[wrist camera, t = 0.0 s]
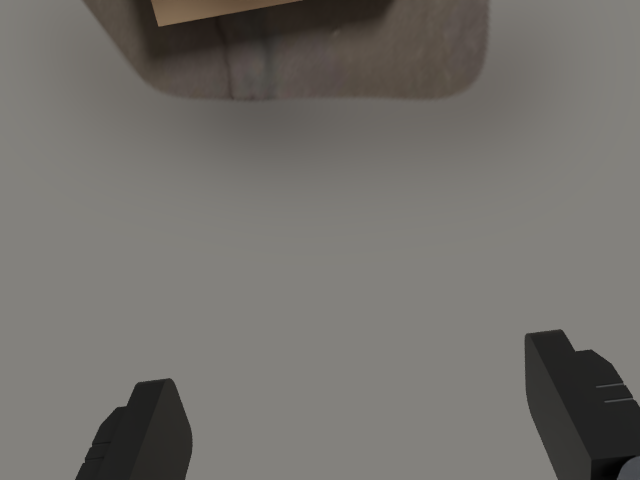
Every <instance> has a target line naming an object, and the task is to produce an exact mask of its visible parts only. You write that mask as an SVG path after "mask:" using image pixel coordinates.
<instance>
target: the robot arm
mask: <svg viewBox="0 0 640 480" xmlns="http://www.w3.org/2000/svg"><path fill="white" fill-rule="evenodd" d="M525 379H526V395H527V401H528V405H529V409H530V413H531V416H532V418H533V421H534V423H535V425H536V428H537V430H538V433H539V435H540V437H541V440H542V442H543V445H544V447H545V449H546V451H547V454H548V456H549V459H550V461H551V464H552V466H553V469H554V471H555V473H556V476H557V478H558V480H640V407H639V405H638V404H637V402H636V401H635V400H633V396H632V394H631V393H630V391H629V390H628V388H627V387H626V385H624V384H623V381H622V379H621V378H620V376H619V375H618V373H617V371H616V370H615V369H614V367H613V365H612V364H611V363H610V362H608V361H607V360H605V359H604V358H603V357H601V356H600V355H598V354H597V353H595V352H594V351H593V350H584V351H576V352H575V350H574V349H573V347H572V345H571V343H570V342H569V340H568V338H567V337H566V335H565V333H564V332H563V331H562V330H561V329H559V330H551V331H544V332H536V333H528V334H526V335H525ZM191 454H192V432H191V428H190V424H189V422H188V419H187V416H186V413H185V411H184V408H183V405H182V402H181V400H180V397H179V394H178V391H177V388H176V386H175V383H174V382H173V380H172V379H170V378H168V379H160V380H153V381H145V382H138V383H137V384H136V385H135V387H134V390H133V392H132V394H131V397H130V399H129V401H128V404H127V406H125V407H117V408H116V409H115V410H114V411H113V412H112V413H111V414H110V415H109V417H108V418H107V419H106V420H105V421H104V422H103V423H102V424H101V426H100V427H99V430H98V432H97V434H96V436H95V438H94V440H93V442H92V447H91V448H90V449H89V451H88V453H87V455H86V457H85V463H83V464H82V466H81V468H80V470H79V472H78V475H77V477H76V479H75V480H185V477H186V473H187V469H188V466H189V462H190V458H191Z"/></svg>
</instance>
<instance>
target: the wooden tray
mask: <svg viewBox="0 0 640 480" xmlns="http://www.w3.org/2000/svg"><path fill="white" fill-rule="evenodd" d="M296 1H301V0H151V2H152V5H153V9H154V12H155V16H156V20H157V23H158V27H159V26H165V25H170V24H176V23H181V22H186V21H192V20H197V19H203V18H208V17H214V16H219V15H225V14H230V13H236V12H241V11H247V10H252V9H257V8H263V7H268V6H274V5H279V4H285V3H290V2H296Z"/></svg>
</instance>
